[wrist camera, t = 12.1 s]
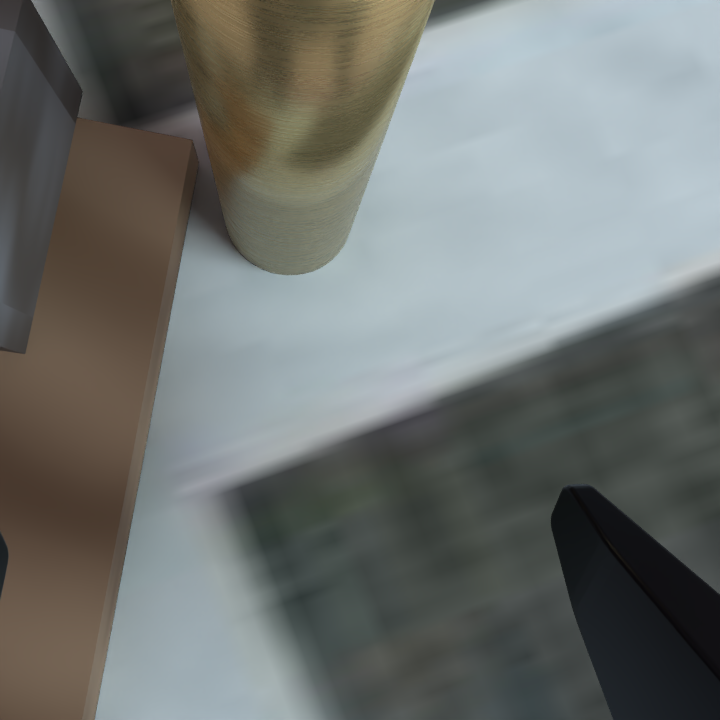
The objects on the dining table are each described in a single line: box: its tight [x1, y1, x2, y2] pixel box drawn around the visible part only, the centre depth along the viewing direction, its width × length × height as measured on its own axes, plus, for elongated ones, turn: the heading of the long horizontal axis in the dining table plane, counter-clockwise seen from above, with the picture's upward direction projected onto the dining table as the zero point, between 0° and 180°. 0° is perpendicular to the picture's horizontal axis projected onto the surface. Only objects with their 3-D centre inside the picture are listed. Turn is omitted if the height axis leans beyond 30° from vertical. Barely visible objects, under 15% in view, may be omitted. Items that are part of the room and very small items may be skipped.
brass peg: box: [171, 0, 435, 275], centre depth 12 cm, size 5×5×14 cm
